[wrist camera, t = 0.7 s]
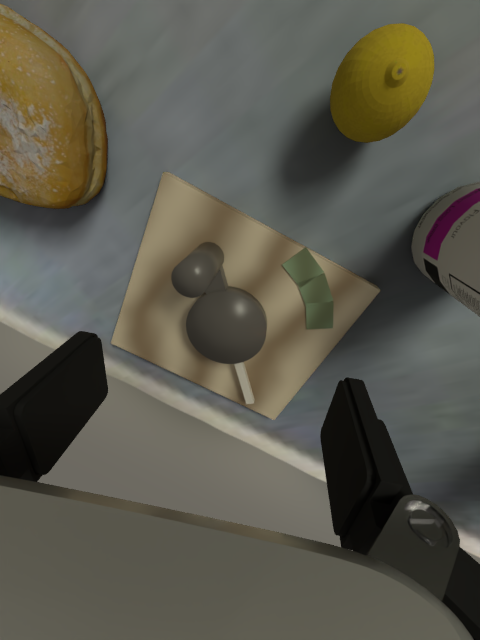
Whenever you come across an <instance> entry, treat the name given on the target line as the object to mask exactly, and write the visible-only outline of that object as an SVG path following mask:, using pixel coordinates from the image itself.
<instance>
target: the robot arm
mask: <svg viewBox="0 0 480 640" xmlns="http://www.w3.org/2000/svg"><path fill="white" fill-rule="evenodd" d="M107 393H108V386H107V379H106V372H105V364H104V357H103V350H102V343H101V339H100V338H98V337H97V335H96V334H94V333H89V332H83V331H79V332H78V333H76V334H75V335H74V336H73V337H71V338H70V339H69V340H68V341H66V342H65V343H64V344H63V345H61V346H60V347H59V348H58V349H56V350H55V351H54V352H53V353H51V354H50V355H49V356H48V357H46V358H45V359H44V360H43V361H41V362H40V363H39V364H38V365H37V366H35V367H34V368H33V369H32V370H30V371H29V372H28V373H27V374H25V375H24V376H23V377H22V378H20V379H19V380H18V381H17V382H15V383H14V384H13V385H12V386H10V387H9V388H8V389H7V390H6V391H4V392H3V393H2V394H0V640H480V564H479V563H478V562H476V561H475V560H474V559H473V558H472V557H471V556H470V555H468V554H467V553H466V552H465V551H464V550H463V549H462V548H460V547H459V545H460V539H459V535H458V532H457V529H456V528H455V526H454V524H453V522H452V521H451V519H450V518H449V517H448V516H447V514H446V513H445V512H444V511H443V510H442V509H441V508H439V507H438V506H437V505H436V504H434V503H433V502H431V501H430V500H428V499H426V498H424V497H421V496H418V495H413V493H412V491H411V488H410V486H409V483H408V481H407V478H406V476H405V473H404V471H403V468H402V466H401V463H400V461H399V458H398V456H397V453H396V451H395V448H394V446H393V443H392V441H391V438H390V436H389V433H388V431H387V428H386V426H385V424H384V422H383V421H382V420H379V419H378V418H377V416H376V413H375V411H374V408H373V405H372V403H371V400H370V398H369V395H368V392H367V390H366V387H365V384H364V382H363V381H362V380H359V379H353V378H345V379H344V381H342V380H340V381H339V383H338V386H337V388H336V391H335V394H334V396H333V399H332V402H331V405H330V407H329V410H328V413H327V415H326V418H325V421H324V423H323V426H322V429H321V445H322V452H323V459H324V466H325V473H326V480H327V487H328V494H329V500H330V507H331V515H332V521H333V528H334V532H335V534H336V535H339V536H340V541H341V547H337V546H334V545H330V544H326V543H322V542H317V541H314V540H309V539H305V538H300V537H296V536H292V535H288V534H283V533H279V532H275V531H270V530H265V529H261V528H256V527H251V526H247V525H242V524H237V523H232V522H227V521H223V520H218V519H213V518H209V517H204V516H200V515H194V514H190V513H185V512H180V511H175V510H171V509H166V508H161V507H157V506H152V505H147V504H141V503H137V502H132V501H127V500H123V499H118V498H113V497H108V496H103V495H98V494H93V493H88V492H83V491H78V490H74V489H68V488H63V487H59V486H54V485H49V484H44V483H39V482H37V481H38V480H39V479H40V477H41V476H42V475H45V474H47V473H48V472H49V471H50V470H51V469H52V467H53V466H54V465H55V463H56V462H57V461H58V459H59V458H60V457H61V456H62V454H63V453H64V452H65V450H66V449H67V448H68V446H69V445H70V444H71V442H72V441H73V440H74V439H75V437H76V436H77V434H78V433H79V432H80V431H81V429H82V428H83V427H84V426H85V424H86V423H87V422H88V420H89V419H90V417H91V416H92V415H93V414H94V413H95V411H96V410H97V409H98V407H99V406H100V405H101V403H102V402H103V401H104V399H105V398H106V396H107ZM348 549H349V550H348ZM351 550H353V551H351Z"/></svg>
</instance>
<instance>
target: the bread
mask: <svg viewBox="0 0 480 640" xmlns="http://www.w3.org/2000/svg"><path fill="white" fill-rule="evenodd" d="M107 149H108V138H107V133H106V122H105V117H104V113H103V110H102V107H101V104H100V101H99V99H98V97H97V94H96V92H95V90H94V88H93V85H92V83H91V81H90V79H89V78H88V76H87V74H86V73H85V71H84V70H83V69H82V67H81V66H80V65H79V64H78V62H77V61H76V60H75V59H74V57H73V56H72V55H71V54H70V52H69V51H68V50H67V49H66V48H65V47H63V45H62V44H61V43H59V42H58V41H57V40H55V39H54V38H53V37H51V36H50V35H49V34H47V33H46V32H45V31H43V30H42V29H41V28H39V27H38V26H36V25H35V24H33V23H31V22H30V21H28V20H27V19H25V18H24V17H22V16H21V15H19V14H17V13H16V12H15V11H13V10H12V9H10V8H9V7H7V6H5V5H2V4H0V196H3V197H5V198H9V199H12V200H14V201H17V202H21V203H25V204H29V205H33V206H39V207H45V208H53V209H65V208H70V207H72V206H79V205H83V204H86V203H88V202H89V201H90V200H91V199H92V198H94V197H95V196H96V195H97V194H98V193H99V192H100V190H101V188H102V186H103V184H104V181H105V176H106V169H107Z"/></svg>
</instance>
